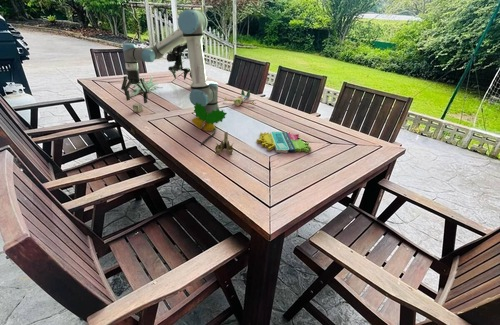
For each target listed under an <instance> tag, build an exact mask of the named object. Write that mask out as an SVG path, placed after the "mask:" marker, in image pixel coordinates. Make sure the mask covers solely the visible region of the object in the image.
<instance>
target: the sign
mask: <svg viewBox="0 0 500 325" xmlns="http://www.w3.org/2000/svg"><path fill="white" fill-rule="evenodd" d="M299 136H300V135H299V134H298V133H296V134H294V133H291V132H287V131H270V132H264V133H263V132H260V133H259V139H258V138H257V139H256V143H257V144H261V148H263V147H264V148H265V149H267V151H268V152H271V151H272V150H273V149H275V152H276V153H283V154H285V153H287V154H288V153H290V154H293V153H296V152H298V153H301V152H305V153H310V151H311V150H312V149H311V148H312V146H309V142H304V141H303V139H302V138H299Z"/></svg>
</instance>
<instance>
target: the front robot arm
mask: <svg viewBox="0 0 500 325" xmlns="http://www.w3.org/2000/svg"><path fill="white" fill-rule="evenodd" d="M177 26H178V28H177V29H175V31H173V32H172V33H170V34H169V35H168V36H166V37H164V38H163V39H162V40H160V41H159V42H157V43H156V44H155V45H153V46H151V47H145V48H142V47H141V48H140V47H136V45H135V44H134V43H122V53H123V57H124V64H125V65H124V66H125V69H126V71H125V72H126V75H123V79H122V80H123V81H122V84H121V87H120V89H121V90H122V91H124V95H125V98H126V102H128V101H130V100H131V97H130V96H129V95H130V90H129V88H130V87H131V86H132V85H131V84H135V85H137V86H136V87H138V86H139V88H140V89H141V90H142V91H143V92H142V98H143V103H144V104H147V103H148V94H149V93H151V90H149V89H148V87H147V85H146V83H145V82H146V81H145V78H144V77H140V70H139V62H145V63H153V62H154V61H155V60H160V59H162V58H163V57H164V56H165V55H166V54H168V53H170V52H171V51H172V50H173V48H175V47H176V46H178V45H182V44H183V43H184V42H185V41H186V43H187V47H188V48H187V54H188V60H189V68H190V71H191V75H192V79H191V81H192V82H191V84H190V93H189V95H188V97H189V98H188V99H189V101H190V103H191V104H192V105H193V107H194V106H196V102H197V103H198V104H201V106H204V109H206V112H208V113H211V112H212V110H214V111H216V110H217V109H219V111H221V110H220V108H219V102H218V99H219V98H218V97H219V87H218V83H217V82H216V81H207V76H206V68H205V60H204V58H205V57H204V53H203V50H202V44H203V43H202V39H203V38H204V31H205V30H206V29H207V28H208V18H207V15H206V14H205V13H204V12H203V11H201V10H196V9H185V10H183V11H181V12H180V13H179V14H178V17H177ZM208 113H207V115H208ZM216 130H217V129H216V127H215V128H214V130H213V131H212V134H210V135H209V136H208V137H207V138H205V139H204V140H203V141H202V142H201V143H200V145H201V146H202V145H204V144H205V143H206V142H207V141H208V140H209V139H210V138H212V137H214V135H215V134H216Z"/></svg>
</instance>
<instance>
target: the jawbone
mask: <svg viewBox="0 0 500 325" xmlns="http://www.w3.org/2000/svg"><path fill="white" fill-rule="evenodd" d="M223 135H224V136H223V140H222V139H221V142H220V144H218V142H215V144H216V146H215V148H214V149H215V152H214V154H215V155H217V156H218V155H220V153H221V152H223V151H224V150H226V152H227V153H228V155H229V156H233V155H234V154H233V153H234V148H233V144H234V143H230V140H228V139H229V138H228V137H229V136H228V135H229V133H228V131H226V132H224V134H223Z"/></svg>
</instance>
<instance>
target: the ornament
mask: <svg viewBox="0 0 500 325" xmlns="http://www.w3.org/2000/svg"><path fill="white" fill-rule="evenodd" d="M219 110H220V108H219V109H217V110H216V111H214V110H212V112H211V113H208V112H206V109H204V106H201V104H198V103H197V102H196V106H194V105H193V112H194V113H195V118H192V119H191V122H192V123H193V125H195V127H197V128H198V129H202V130H203V131H206V132H214V128H215V129H216V126H215V124H218V123H219V122H223V119H226V115H227V114H228V113H227V112H224V110H223V109H221V110H220V111H219ZM207 113H208V115H207ZM214 123H215V124H214Z"/></svg>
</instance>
